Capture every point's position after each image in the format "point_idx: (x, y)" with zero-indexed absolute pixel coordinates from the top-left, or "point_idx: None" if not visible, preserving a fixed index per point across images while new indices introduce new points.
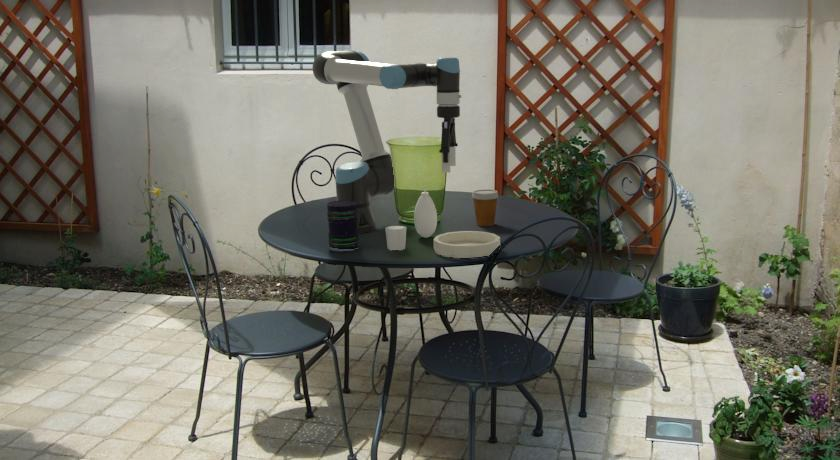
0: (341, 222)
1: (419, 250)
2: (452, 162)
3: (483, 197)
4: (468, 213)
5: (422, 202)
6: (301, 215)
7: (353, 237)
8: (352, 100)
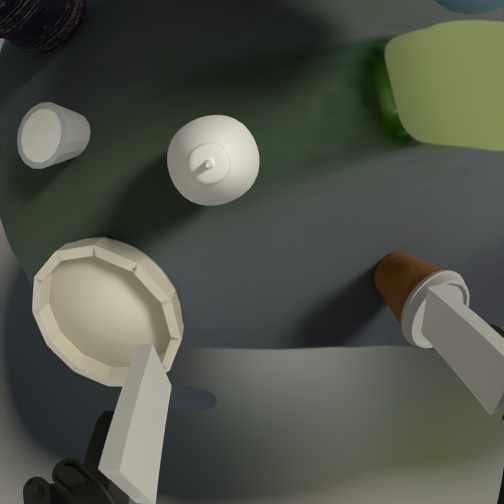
0: None
1: (69, 201)
2: (436, 329)
3: (403, 320)
4: (486, 200)
5: (173, 162)
6: None
7: (21, 47)
8: None
